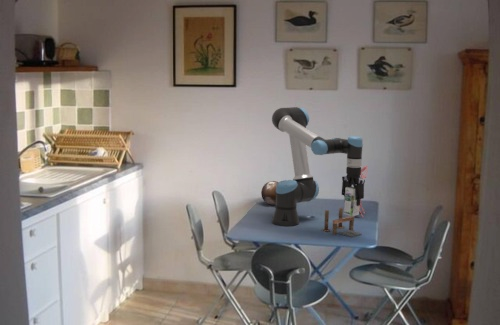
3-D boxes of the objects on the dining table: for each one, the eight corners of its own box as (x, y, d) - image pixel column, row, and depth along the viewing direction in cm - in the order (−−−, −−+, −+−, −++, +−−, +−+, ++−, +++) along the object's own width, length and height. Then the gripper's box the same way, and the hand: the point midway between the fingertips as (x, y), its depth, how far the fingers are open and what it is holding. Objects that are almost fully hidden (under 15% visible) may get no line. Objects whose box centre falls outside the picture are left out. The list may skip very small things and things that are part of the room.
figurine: (367, 210, 366) (369, 154, 361) (362, 220, 342) (364, 160, 337) (342, 209, 371) (344, 153, 365) (336, 218, 346) (337, 159, 341)
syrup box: (343, 214, 312) (344, 187, 310) (351, 212, 316) (352, 185, 314) (351, 216, 308) (353, 188, 306) (359, 215, 311) (360, 187, 309)
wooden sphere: (258, 206, 372) (259, 182, 370) (263, 201, 387) (264, 178, 384) (282, 208, 369) (283, 184, 367) (286, 202, 383) (287, 179, 381)
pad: (339, 233, 314) (339, 232, 314) (350, 231, 319) (350, 229, 319) (351, 237, 308) (351, 235, 308) (361, 234, 313) (361, 233, 313)
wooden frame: (320, 230, 320) (321, 210, 318) (339, 226, 329) (340, 206, 328) (334, 234, 312) (335, 214, 310) (353, 230, 322) (354, 210, 320)
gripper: (335, 164, 313) (333, 207, 316) (363, 169, 298) (360, 214, 302) (345, 163, 317) (343, 206, 321) (372, 168, 303) (370, 212, 307)
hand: (351, 210), depth 311 cm, fingers closed on syrup box, 6 cm apart
